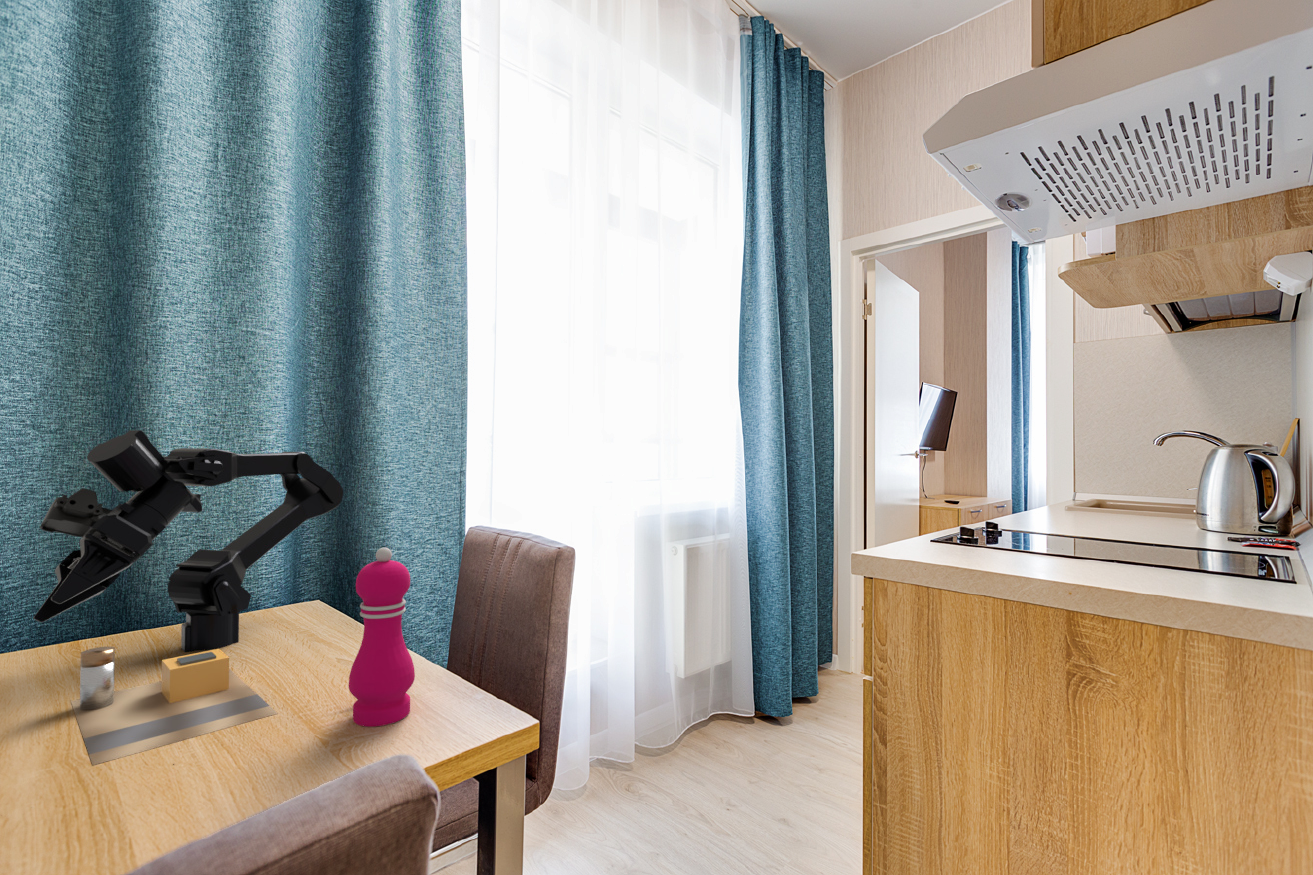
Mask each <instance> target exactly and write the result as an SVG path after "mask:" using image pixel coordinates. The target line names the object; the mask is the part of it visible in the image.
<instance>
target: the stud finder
mask: <svg viewBox="0 0 1313 875" xmlns="http://www.w3.org/2000/svg"><path fill="white" fill-rule="evenodd" d="M229 669H230V657H229V656H228V655H227V654H226V653H225V652H223V651H222V650H221V648H219V649H213V650H205V651H200V652H196V653H191V654H186V655H181V656H175V657H171V658H170V657H169V658H165V659H162V660H161V681H162V693H163V695H164V696H165V698H166V699H167V700H168V702H169V703H173V702H177V701H181V700H185V699H190V698H194V697H198V696H202V695H206V694H210V693H214V692H218V691H223V690H227V689H229Z"/></svg>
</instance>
